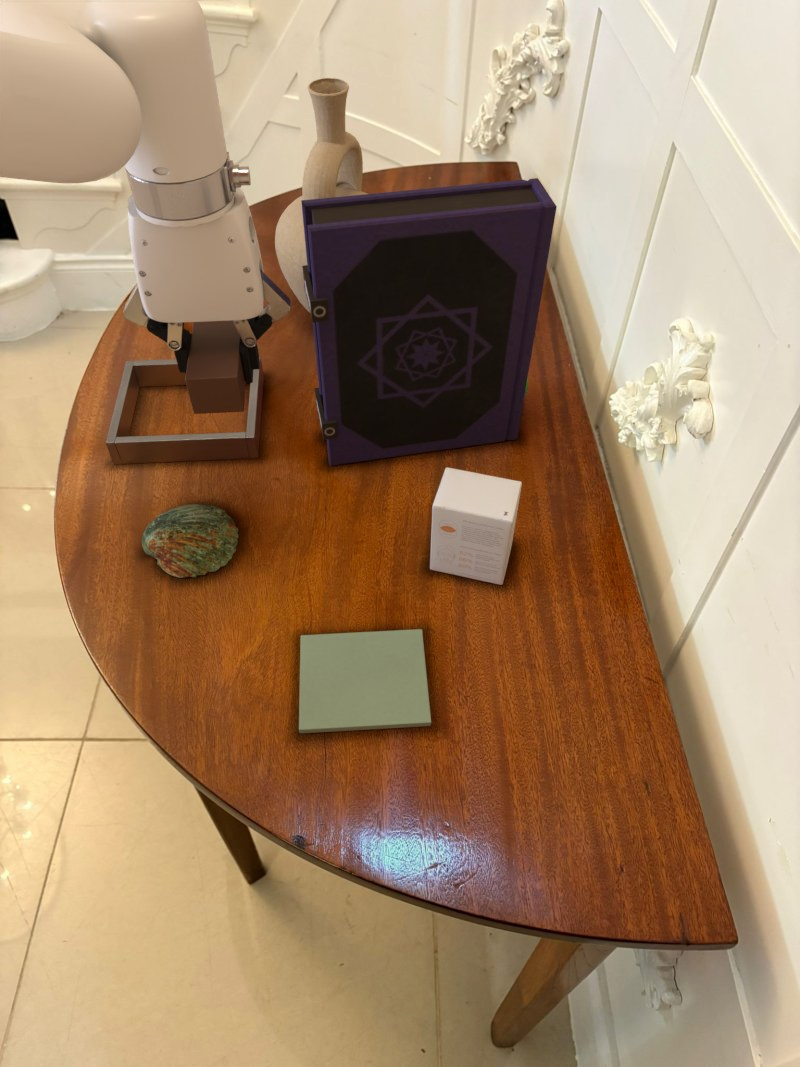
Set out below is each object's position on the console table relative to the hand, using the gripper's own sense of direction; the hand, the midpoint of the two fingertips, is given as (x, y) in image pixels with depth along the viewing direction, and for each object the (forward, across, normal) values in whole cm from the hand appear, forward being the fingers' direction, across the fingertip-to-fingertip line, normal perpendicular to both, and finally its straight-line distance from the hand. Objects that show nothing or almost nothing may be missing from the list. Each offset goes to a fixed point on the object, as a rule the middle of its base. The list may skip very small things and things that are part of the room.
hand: (221, 373), depth 73 cm
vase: (+19, -12, -37) cm, 43 cm away
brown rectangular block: (+1, 0, 0) cm, 1 cm away
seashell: (+19, +6, +4) cm, 21 cm away
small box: (+19, -24, +9) cm, 32 cm away
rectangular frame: (+19, +8, -16) cm, 26 cm away
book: (+19, -20, -10) cm, 30 cm away
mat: (+19, -12, +23) cm, 32 cm away
